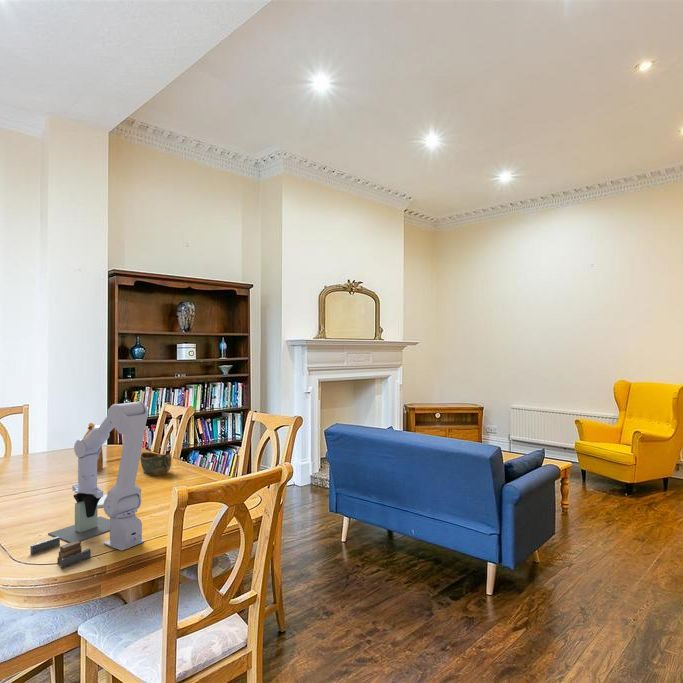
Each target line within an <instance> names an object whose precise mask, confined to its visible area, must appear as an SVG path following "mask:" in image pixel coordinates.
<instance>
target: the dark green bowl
mask: <svg viewBox="0 0 683 683" xmlns="http://www.w3.org/2000/svg"><path fill="white" fill-rule="evenodd" d="M140 464H141V468H142V470H143V473H144V474H146V475H148V476H151V477H162V476H166V475H168V473H169V471H170V469H171V468H172V467H171V466H172V455H171V453H170V452H169V453H166V454H161V453H155V452H147V451H146V452H141V454H140Z"/></svg>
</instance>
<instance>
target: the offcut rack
mask: <svg viewBox="0 0 683 683" xmlns="http://www.w3.org/2000/svg"><path fill="white" fill-rule="evenodd" d="M60 544H61V539H60V537H52V538H49V539H46V540H43V541H40V542H37V543H34V544H31V545H30V555H32V556H33V555H35V554H39V553H41V552H45V551H47V550H49V549H53V548H57V547H59V546H61V545H60ZM91 551H92V550H91V548H87V549H84V550H82V551H81V552H78V553H75V554H73V555H70V556H67V557H65V558H62V559H61V565H60V569H62V570H63V569H66V568H69V567H71V566H74V565H76V564H78V563H81V562H85V561H87V560H89V559H91Z"/></svg>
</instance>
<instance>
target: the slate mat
mask: <svg viewBox="0 0 683 683" xmlns="http://www.w3.org/2000/svg"><path fill="white" fill-rule="evenodd" d="M108 532H110V518H106V517H103V516H98V527H95V528H92V529H89V530H86V531H83V532H77V531H75V524H73V525H70V526H69V525H68V526H66V527H63V528H59V529H57V530H53V531H51V532H47V533H48V534H47V535H49V536H52V538H55V537H60V541H64V542H66V543H67V544H68V543H71V542H74V541H79V542H82V541H85V540H88V539H91V538H94V537H97V536H99V535H102V534H105V533H108Z"/></svg>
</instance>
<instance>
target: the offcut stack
mask: <svg viewBox="0 0 683 683" xmlns="http://www.w3.org/2000/svg"><path fill="white" fill-rule="evenodd" d="M81 542H82V541H80V542H79V541H74V542H71V543H68V542H67V543H65V544H63V545H59V546H60V547H59V551H58V557H57V562H56V563H57V565H60V566H61V559H62V558H65V557H67V556H70V555H73V554H75V553H78V552H81V551H83V550H82V549H83V548H82V544H81Z"/></svg>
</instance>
